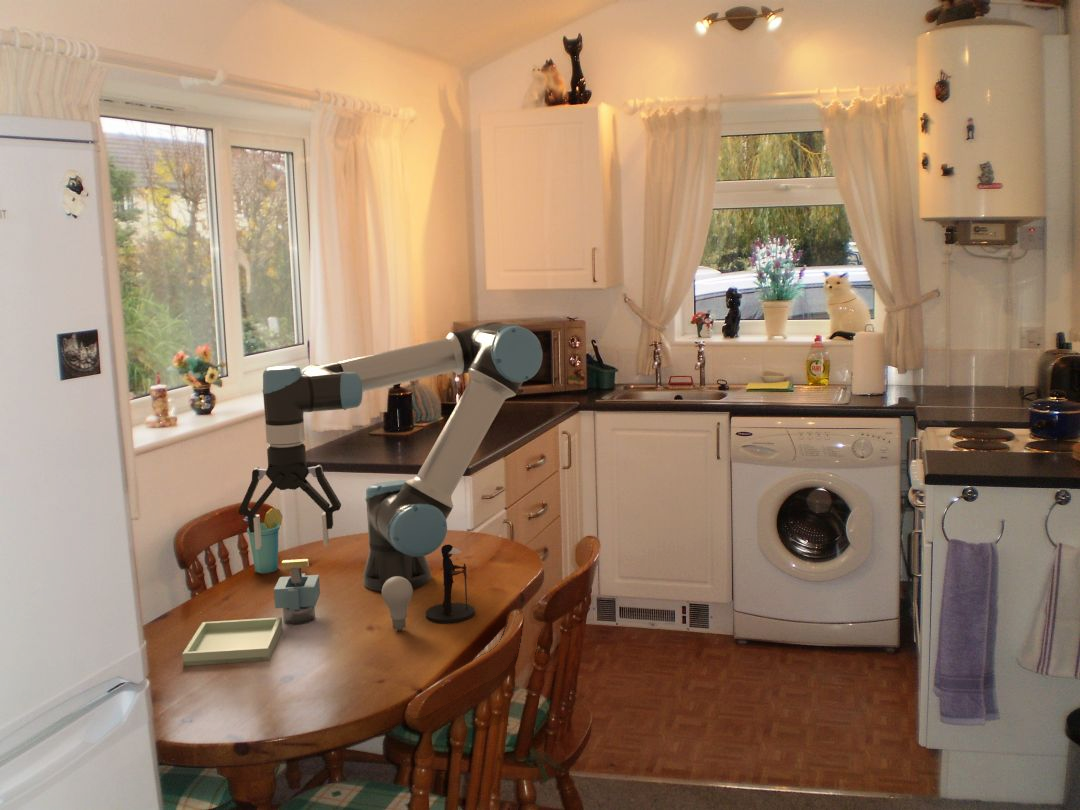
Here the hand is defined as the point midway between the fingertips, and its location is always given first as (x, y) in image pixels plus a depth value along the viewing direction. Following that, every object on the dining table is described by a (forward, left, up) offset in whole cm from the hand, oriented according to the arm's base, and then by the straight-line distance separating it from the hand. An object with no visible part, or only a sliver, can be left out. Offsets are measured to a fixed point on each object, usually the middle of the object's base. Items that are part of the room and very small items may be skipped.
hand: (292, 546), depth 224 cm
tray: (+10, +13, -16) cm, 23 cm away
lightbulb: (-21, +10, -16) cm, 28 cm away
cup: (+13, -35, -16) cm, 41 cm away
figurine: (-31, +3, -16) cm, 35 cm away
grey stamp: (0, 0, -16) cm, 16 cm away
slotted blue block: (0, 0, -12) cm, 12 cm away
